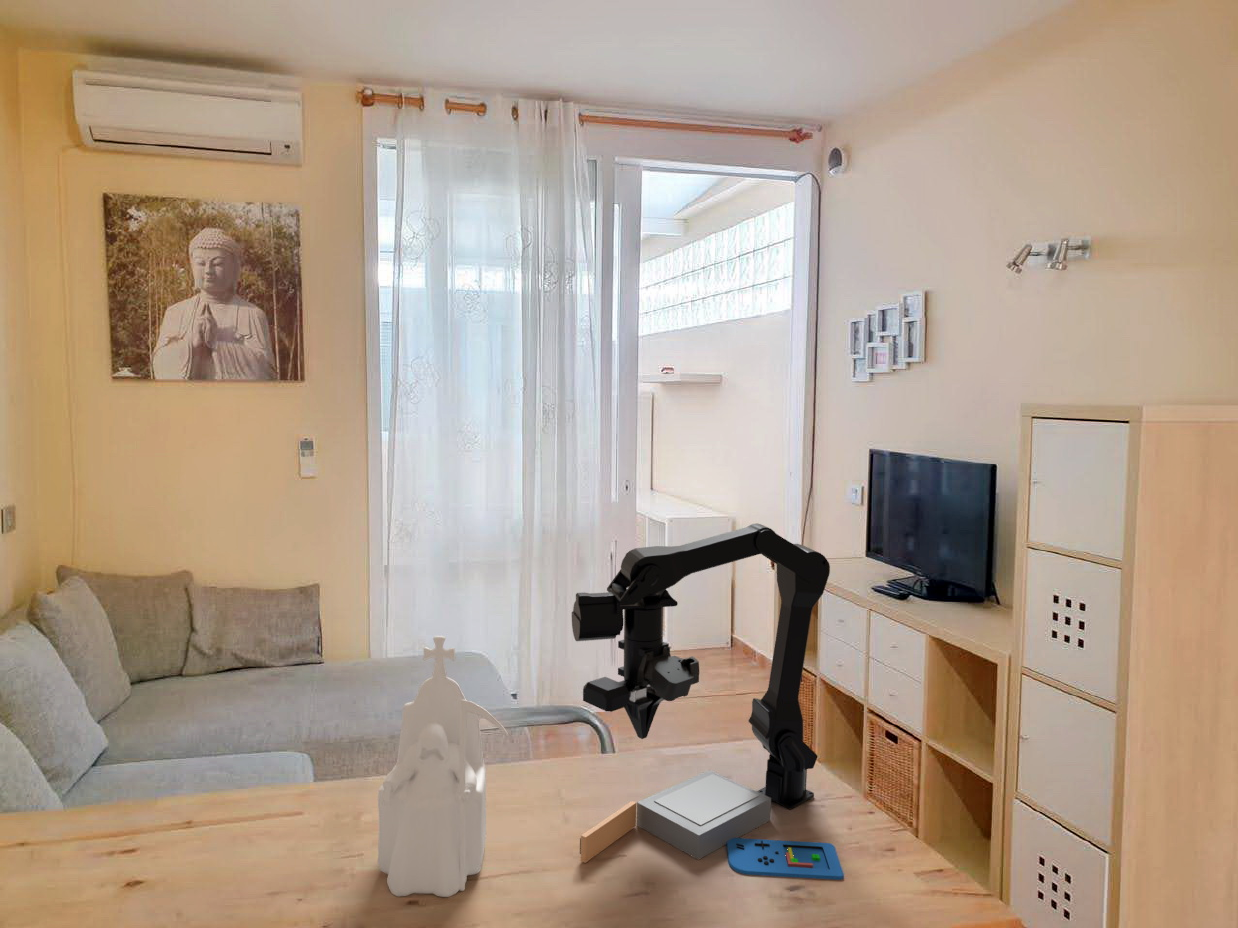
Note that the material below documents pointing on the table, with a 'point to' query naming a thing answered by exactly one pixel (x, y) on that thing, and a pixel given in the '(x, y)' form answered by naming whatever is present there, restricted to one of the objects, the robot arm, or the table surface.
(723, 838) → the case
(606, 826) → the case door
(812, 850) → the handheld gaming device
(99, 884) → the table surface
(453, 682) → the religious statue
